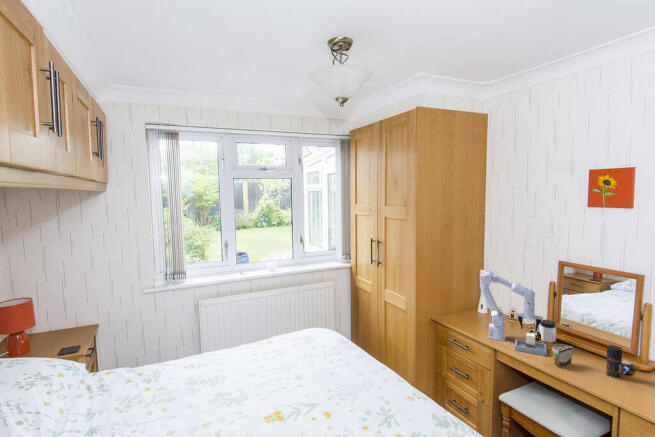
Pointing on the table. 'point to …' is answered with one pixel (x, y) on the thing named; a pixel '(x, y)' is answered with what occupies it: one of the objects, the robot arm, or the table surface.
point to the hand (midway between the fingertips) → (528, 329)
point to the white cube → (530, 338)
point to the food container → (562, 355)
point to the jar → (548, 331)
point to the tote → (539, 348)
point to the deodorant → (614, 361)
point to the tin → (530, 345)
